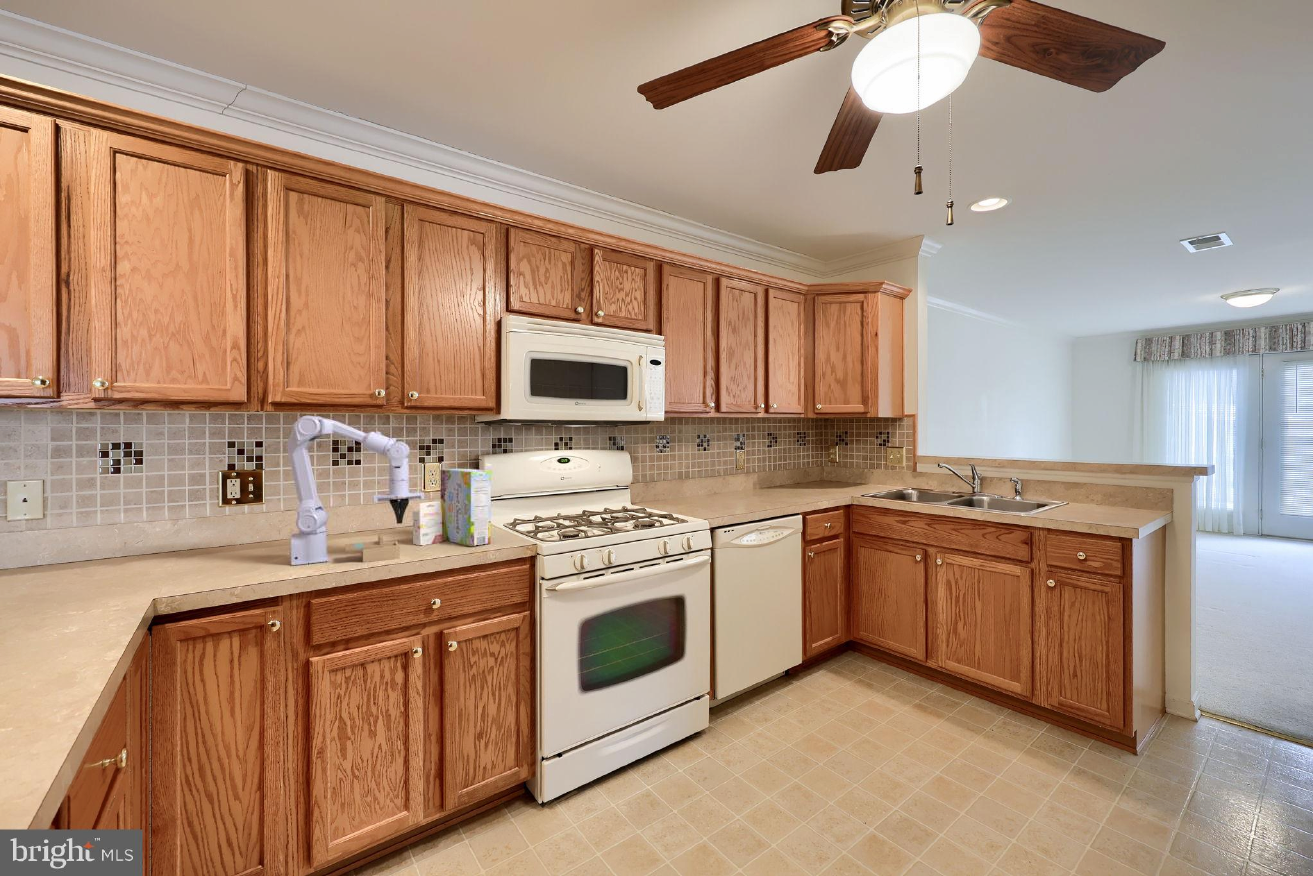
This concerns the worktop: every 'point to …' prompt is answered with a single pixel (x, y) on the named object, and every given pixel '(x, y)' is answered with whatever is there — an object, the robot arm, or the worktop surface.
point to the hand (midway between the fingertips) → (399, 523)
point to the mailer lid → (365, 544)
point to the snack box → (466, 506)
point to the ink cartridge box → (427, 524)
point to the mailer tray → (381, 552)
